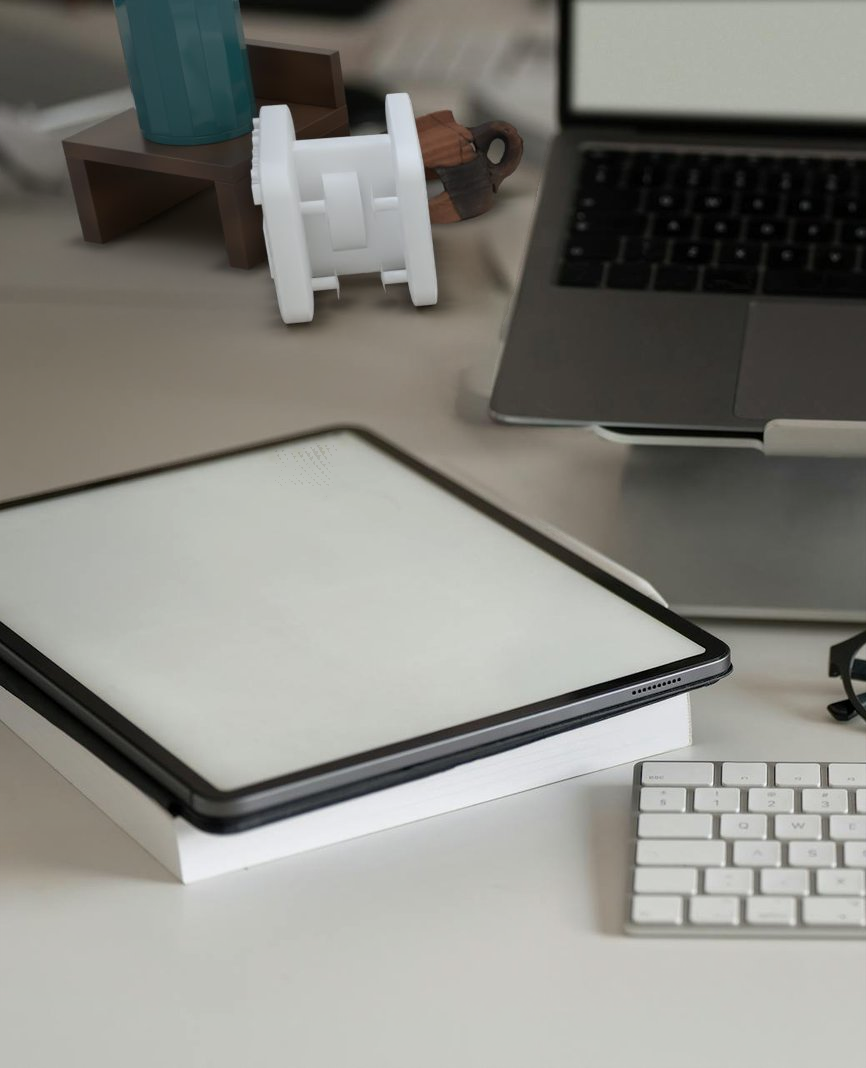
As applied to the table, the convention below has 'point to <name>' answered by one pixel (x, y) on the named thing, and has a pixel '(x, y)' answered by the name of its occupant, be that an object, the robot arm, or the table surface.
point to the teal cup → (187, 69)
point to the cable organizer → (342, 207)
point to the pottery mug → (464, 163)
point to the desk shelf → (203, 154)
